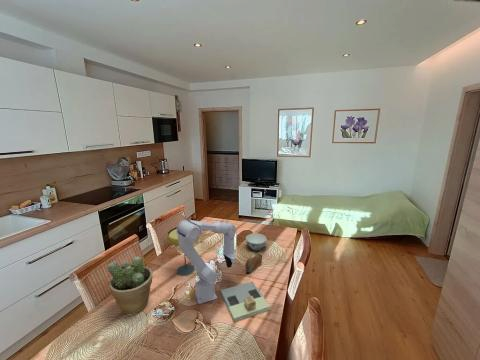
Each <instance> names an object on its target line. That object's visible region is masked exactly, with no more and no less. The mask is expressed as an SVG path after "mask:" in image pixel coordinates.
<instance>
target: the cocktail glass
mask: <svg viewBox="0 0 480 360" xmlns="http://www.w3.org/2000/svg"><path fill="white" fill-rule="evenodd" d="M177 227H178V226H176V227H174V228H172V229H170V230H169V231H167V236H166V237H167V238H166V239H167V242H168V243H169V244H170V245H172V246H174V247H179V243H178V235H177V232H176V230H177ZM199 238H200V235H199V236H198V238H197V240H196V242H197V241H198V240H199ZM183 256H184V264H183V265H180V266H179V267H177V269H176V274H177V275H178V276H180V277H181V276H183V277H184V276H189V275H191V274H193V273H194V272H195V271H196V270H195V267H194V266H193V265H192V264H189V263H188V264H187V260H186V258H187V257H186V256H185V254H184V253H183Z"/></svg>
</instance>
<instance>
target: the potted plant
mask: <svg viewBox="0 0 480 360" xmlns="http://www.w3.org/2000/svg"><path fill="white" fill-rule="evenodd" d="M143 262H144V261H143V258H142V257H140V256H136V257H135V256H134V257H133V259H132V261H131V262H130V261H128V260H124V261H122V262H121V265H119V263H117V262H116V261H112V262H110V263H109V264H108V265H107V266H106V269H107V271H108V273H110V275H111V277H110V280H109V282H108V287H109V290H110V293H111V295H112V297H113V299H114V300H115V303H116V304H117V306H118V309H120V310H121V312H122V313H123V314H124V315H127V314H133V315H135V314H134V313H136V314H138V313H139V311H140V312H141V311H143V310H144V309H145V308H146V307H147V305H148V301H149V298H150V292H151V287H152V286H151V285H152V283H153V271H152V269H151V267H148V266H145V265H144V263H143ZM137 312H138V313H137Z"/></svg>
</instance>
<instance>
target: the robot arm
mask: <svg viewBox="0 0 480 360" xmlns="http://www.w3.org/2000/svg"><path fill="white" fill-rule="evenodd" d="M176 227H177V230H176V232H177V235H178V243H179V246H178V247H179V249H180V250H181V252H183V255H184V254H185V257H186V258H187V260H188V261H189V262H190V263H191V265H193V266H194V267H195V270H194V271H195V273H196V276H197V277H198V281H196V282H195V283H194V289H195V292H194V293H195V298H196V301H197V304H199V305H200V304H203V303H207V302H211V301H213V300H217V298H218V297H217V295H216V292H215V282H216V280H217V277H218V273H217V272H216V271H214V270H213V269H212V268H211V267H209V266H208V265H207V264H206V262H205V261H204V260H203V258H202V257H201V255H200V254H199V253H198V251H197V250H196V248H195V246H194V245H195V243H196V242H197V241H198V240H197V238H198V236H199V237H200V235H202V233H203V231H212V232H213V234H219V235H220V234H221V235H223V246H222V250H223V252H222V253H223V255H222V256H223V258H224V260H225V265H226V268H228V269H229V268H231V267H232V265H233V263H235V262H236V254H235V253H237V250H236V249H235V236H236V233H237V227H236V225H235V224H232V223H230V222H228V221H224V222H223V221H222V220H218V221H214V222H213V223H211V222H205V221H199V220H192V219H190V220H187V219H182V220H181V221H179V223H178V224H177V226H176ZM198 239H199V238H198ZM196 240H197V241H196Z"/></svg>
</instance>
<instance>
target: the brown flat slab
mask: <svg viewBox="0 0 480 360" xmlns="http://www.w3.org/2000/svg"><path fill="white" fill-rule="evenodd" d="M262 260H263V255H262V254H261V253H259V252H255V253H254V254H253V255H251V256H249V257H248V258H247V260H246V261H245V265H244V268H245V271H246V272H248V273H249V274H252V273H253V272H254V271H255V270H257V269H258V268H259V267H260V266H261V265H262Z"/></svg>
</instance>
